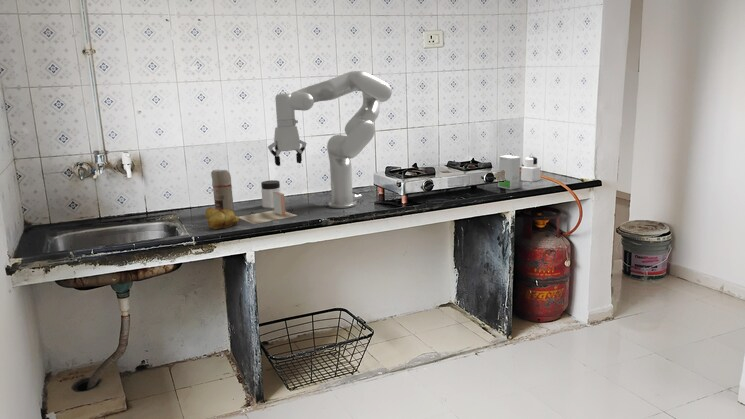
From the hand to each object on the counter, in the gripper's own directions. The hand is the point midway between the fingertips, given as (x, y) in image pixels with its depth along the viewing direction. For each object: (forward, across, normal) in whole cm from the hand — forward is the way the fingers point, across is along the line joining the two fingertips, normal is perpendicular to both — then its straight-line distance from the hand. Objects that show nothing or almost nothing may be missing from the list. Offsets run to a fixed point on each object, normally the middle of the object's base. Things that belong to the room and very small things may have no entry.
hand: (288, 164), depth 262 cm
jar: (+22, +2, -15) cm, 27 cm away
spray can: (+22, +24, -18) cm, 37 cm away
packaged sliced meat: (+22, +12, +2) cm, 25 cm away
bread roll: (+22, +31, +2) cm, 38 cm away
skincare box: (+21, -107, +21) cm, 111 cm away
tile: (+20, +6, +2) cm, 21 cm away
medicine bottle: (+21, -129, +15) cm, 131 cm away
